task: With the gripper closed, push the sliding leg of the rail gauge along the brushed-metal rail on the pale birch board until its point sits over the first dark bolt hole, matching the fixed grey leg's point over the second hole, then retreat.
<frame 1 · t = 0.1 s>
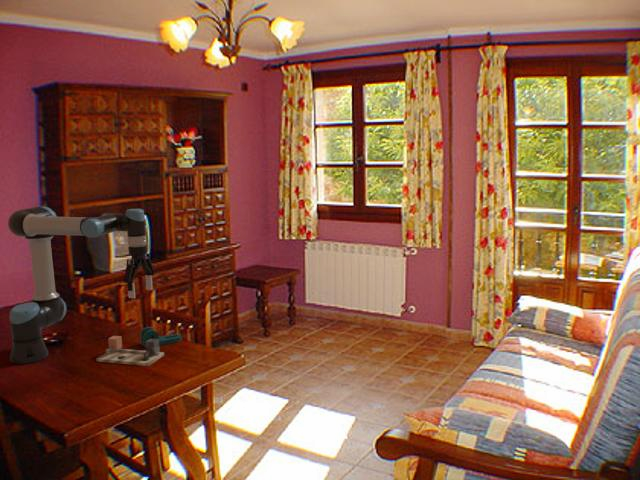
hand: (140, 293, 258), 28 cm above the table, fingers open, 13 cm apart
gauge board: (130, 358, 260), on the table
sliding leg: (112, 345, 263), point 5 cm above the table, slide at 0.0 cm
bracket: (162, 343, 279), on the table
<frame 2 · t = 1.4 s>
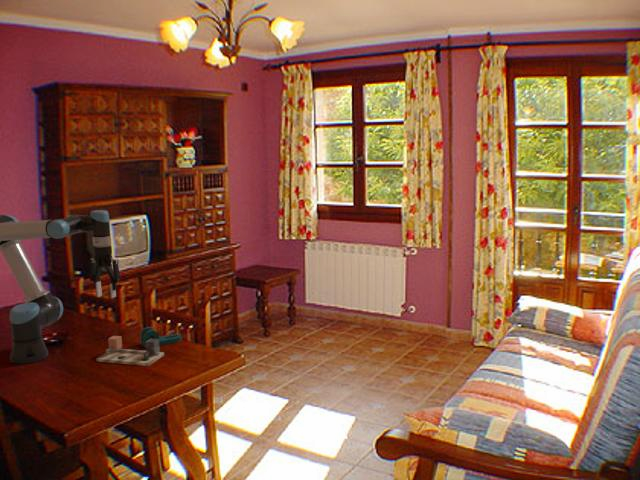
hand: (106, 296, 266), 25 cm above the table, fingers open, 6 cm apart
nothing on the table moved.
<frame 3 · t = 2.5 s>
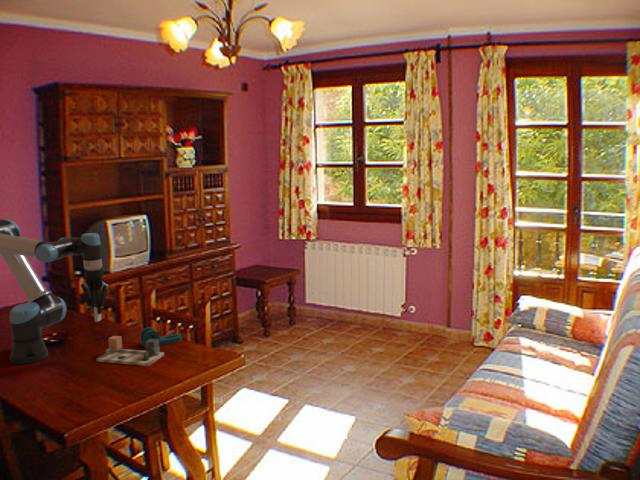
hand: (98, 320, 265), 15 cm above the table, fingers closed
nothing on the table moved.
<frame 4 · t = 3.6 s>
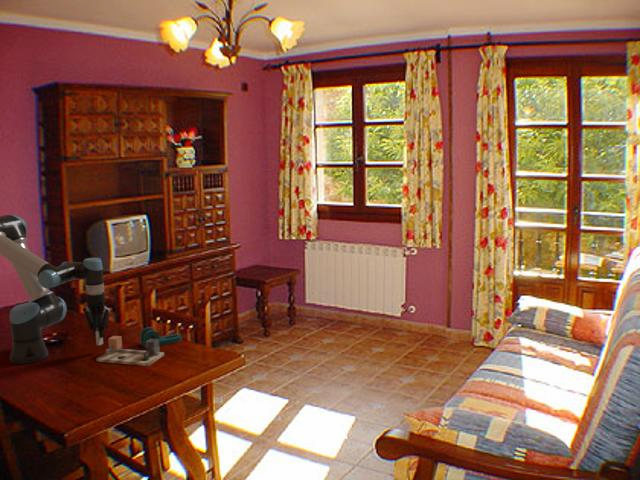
hand: (99, 344, 267), 4 cm above the table, fingers closed
nothing on the table moved.
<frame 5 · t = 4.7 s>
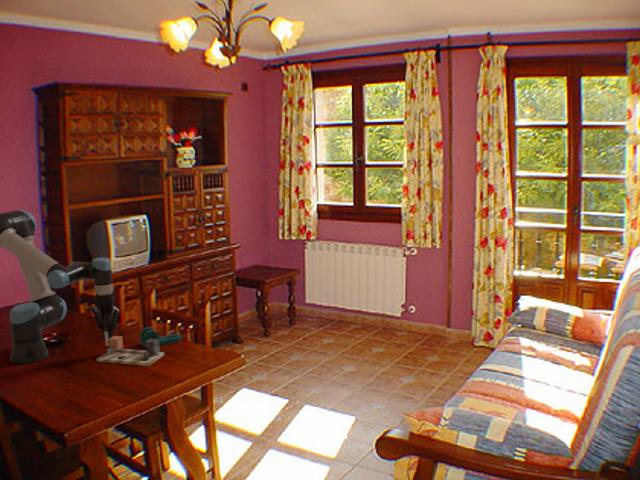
hand: (108, 344, 266), 4 cm above the table, fingers closed
sliding leg: (112, 345, 262), point 5 cm above the table, slide at 0.4 cm, touching gripper
everything else where it was.
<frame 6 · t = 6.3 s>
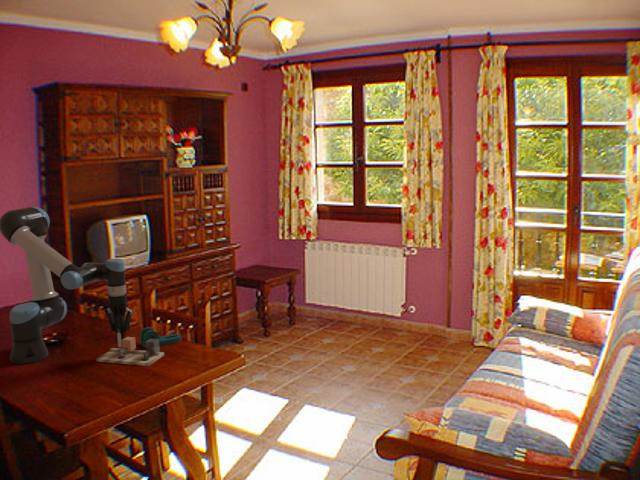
hand: (121, 346, 264), 4 cm above the table, fingers closed
sliding leg: (125, 346, 261), point 5 cm above the table, slide at 6.9 cm, touching gripper
everything else where it was.
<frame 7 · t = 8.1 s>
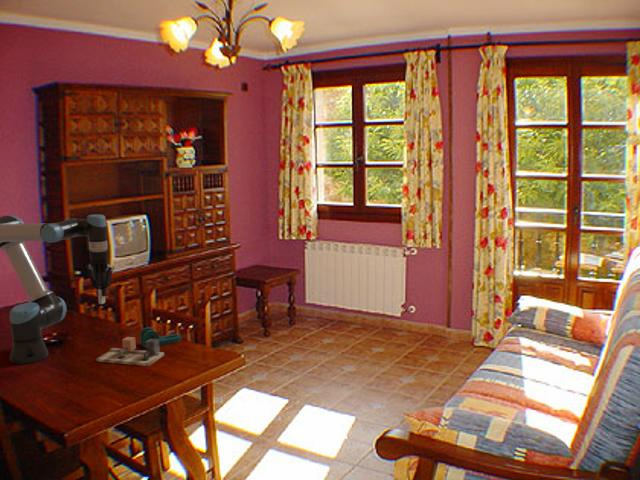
hand: (102, 303, 263), 23 cm above the table, fingers closed
sliding leg: (125, 346, 261), point 5 cm above the table, slide at 6.9 cm
everything else where it was.
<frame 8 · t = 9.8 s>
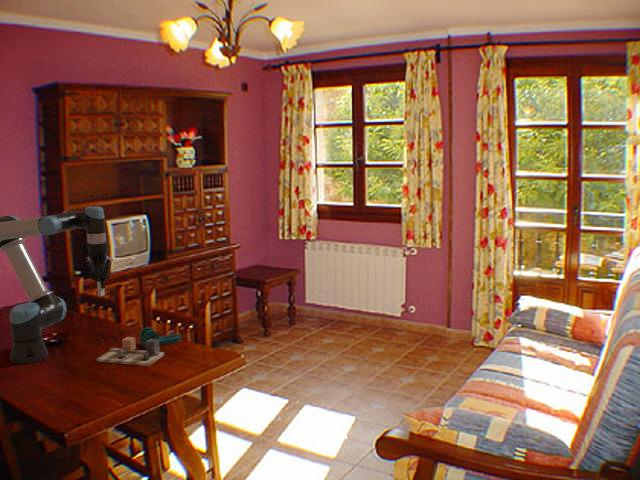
hand: (101, 295, 262), 26 cm above the table, fingers closed
nothing on the table moved.
at the end: sliding leg slide at 6.9 cm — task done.
